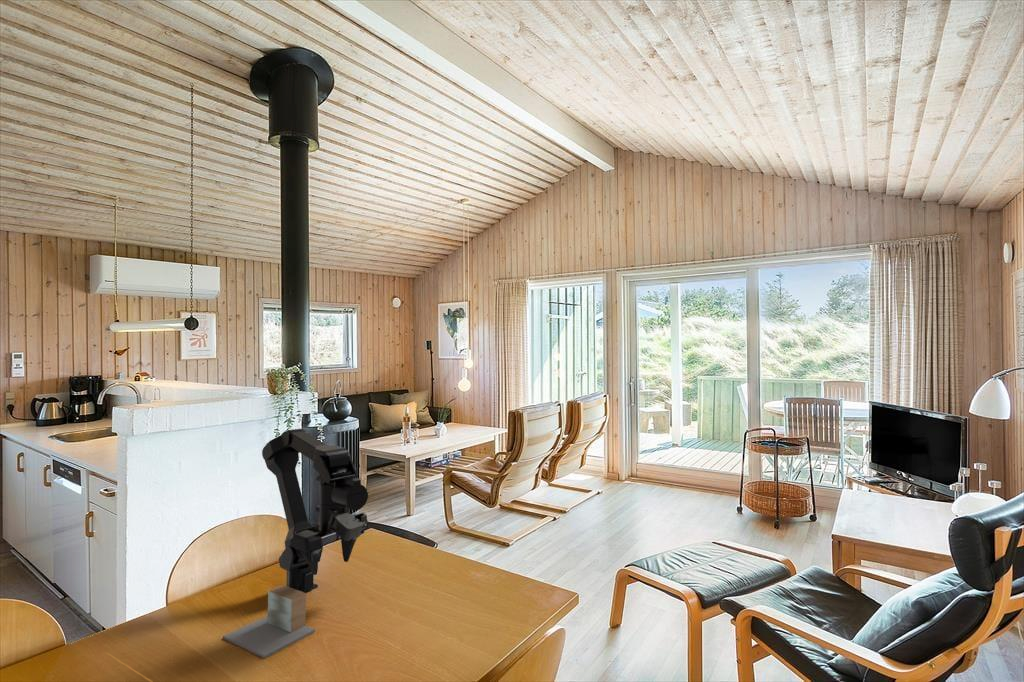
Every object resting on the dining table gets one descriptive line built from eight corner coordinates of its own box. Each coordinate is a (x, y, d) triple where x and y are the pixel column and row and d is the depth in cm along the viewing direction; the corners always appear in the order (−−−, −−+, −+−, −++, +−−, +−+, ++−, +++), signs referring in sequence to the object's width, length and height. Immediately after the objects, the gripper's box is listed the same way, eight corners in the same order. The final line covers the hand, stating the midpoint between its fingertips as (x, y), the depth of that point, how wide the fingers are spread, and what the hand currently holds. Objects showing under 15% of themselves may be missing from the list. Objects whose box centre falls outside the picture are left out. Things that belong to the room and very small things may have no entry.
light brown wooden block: (267, 623, 117) (267, 590, 117) (282, 616, 120) (282, 584, 121) (290, 633, 113) (291, 599, 113) (305, 625, 116) (306, 593, 116)
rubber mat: (222, 638, 112) (222, 635, 112) (274, 614, 122) (274, 612, 122) (264, 658, 105) (264, 655, 105) (315, 631, 115) (315, 629, 115)
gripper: (322, 517, 115) (321, 590, 115) (385, 498, 131) (383, 562, 131) (289, 509, 121) (288, 578, 121) (353, 491, 137) (352, 553, 137)
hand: (330, 567), depth 127 cm, fingers open, 9 cm apart
